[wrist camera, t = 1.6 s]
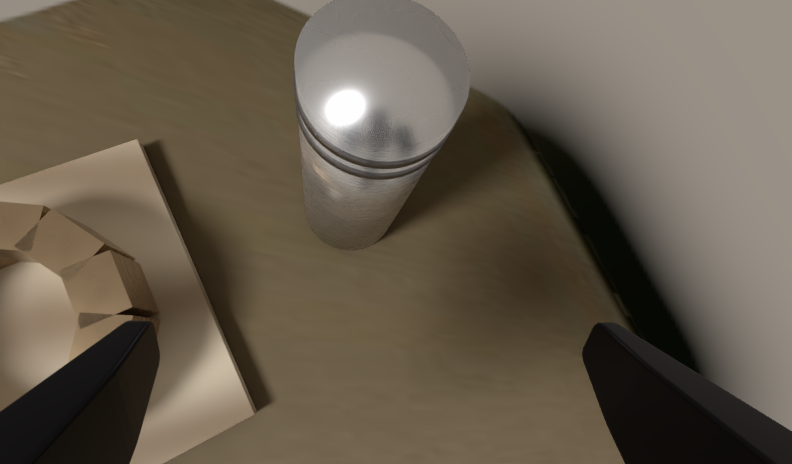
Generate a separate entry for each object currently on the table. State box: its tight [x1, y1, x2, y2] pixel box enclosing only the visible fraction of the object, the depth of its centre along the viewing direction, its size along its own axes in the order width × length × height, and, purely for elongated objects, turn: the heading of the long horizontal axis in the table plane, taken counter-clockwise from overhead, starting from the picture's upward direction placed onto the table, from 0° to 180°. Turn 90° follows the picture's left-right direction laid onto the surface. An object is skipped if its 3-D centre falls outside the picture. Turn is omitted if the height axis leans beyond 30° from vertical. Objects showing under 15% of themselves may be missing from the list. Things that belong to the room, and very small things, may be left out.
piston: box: [294, 0, 470, 250], centre depth 17 cm, size 5×5×12 cm
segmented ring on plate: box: [0, 139, 257, 464], centre depth 18 cm, size 14×14×1 cm
